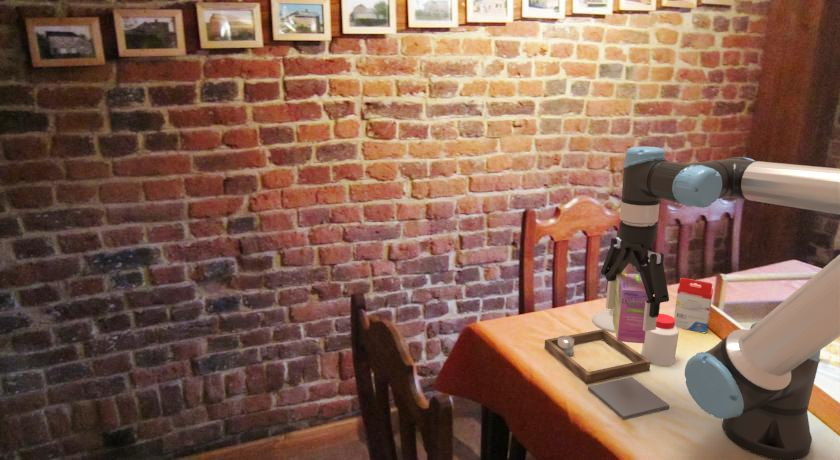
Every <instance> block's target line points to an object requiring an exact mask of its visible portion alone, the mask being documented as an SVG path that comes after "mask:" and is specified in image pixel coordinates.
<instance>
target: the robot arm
mask: <svg viewBox="0 0 840 460" xmlns="http://www.w3.org/2000/svg"><path fill="white" fill-rule="evenodd" d="M623 162H624V163H623V166H622V167H623V168H622V170H623V172H622V173H623V174H622V186H621V187H622V191H621V199H620V208H619V210H620V211H619V219H620V222H619V223H618V233H617V237H611V239H610V244H609V245H610V246H609V249H608V251H607V255H606V257H605V260H604V262H603V265H602V268H601V270H600V274H601V275H603V276H605V280H606V291H605V292H606V298H605V299H606V302H605V309H606V310H611V309H612V308H614V300H615V289H616V277H617V274H621V273H622V272H623V270H624V269H625V268H626V269H627V266H628V265H632V267H635V270H636V272H638V274H639V275H640V276H641V279H642V282H643V285H644V288H645V291H646V294H647V297H648V301H645V309H644V320H643V331H650V330H656V321H657V317H658V316H659V314H660V307H661V303H666V302H667V303H668V302H669V301H670V295H669V291H668V284H667V279H666V273H665V267H664V260H665V254H664V253H663V252H654V251H653V244H654V243H656V241H657V237H658V224H657V223H658V222H659V214H660V206H661V205H660V204H661V200H664V201H666V202H672V203H676V204H681V205H683V206H686V207H690V208H691V207H693V208H694V207H696V208H700V209H702V208H708V207H710V206H711V205H712V204H713V203H715V202H716V201H717V200H718V199H725V198H726V199H727V198H728V199H730V198H731V199H738V200H744V201H752V202H760V203H765V204H770V205H772V204H773V205H778V206H784V207H790V208H797V209H802V210H810V211H814V212H820V213H827V214H835V215H840V168H836V167H835V168H834V167H824V166H816V165H815V166H812V165H802V164H793V163H791V164H790V163H780V162H770V161H760V160H758V161H757V160H754V159H752V158H749V157H738V156H737V157H731V158H727V159H717V160H707V161H699V162H697V161H696V162H688V163H687V162H685V163H684V162H677V161H669V160H667V159H666V150H664V149H663V148H661V147H658V146H644V145H643V146H632V147H630V148H627V150H626V151H625V156H624V161H623ZM839 338H840V254H838V255H837V256H836V257H835V258H834V259H832V260H831V261H830V262H828V264H827V265H825V266H824V267H823V268H822V269H820V270H819V271H817V273H816V274H814V275H813V276H812V277H811V278H809V279H808V280H807V281H806V282H805V283H804V284H802V285H801V286H800V287H798V288H797V289H796V290H795V291H794V292H793V293H792V294H790V295H789V296H788V297H787V298H785V300H783V301H782V302H781V303H780V304H779V305H777V306H776V307H775V308H773V309H772V310H771V311H769V313H768V314H767V315H766V316H765V315H764V317H763V318H762V319H761V320H759V321H757V322H753V323H752V324H751V326H750V328H749V329H741V328H740V329H736V330H733V331H731V332H730V333H729V334H727V336H725V337H724V338H723V339H722V340H721V341H719V342H718V343H717V344H716V345H715V346H713V347H712V348H710V349H709V350H707V351H701V352H698V353H696V354H695V355H693V356H691V357H690V358H689V359H688V360H687V361H686V364H685V366H684V367H685V368H684V377H685V385H686V388H687V390H688V392H689V395H690V397H691V398H692V400H693V401H694V402H695V403H696V405H698V407H699V408H700V409H701V410H703V411H704V413H707V415H710V416H712V417H715V418H716V419H722V423H721V425H722V430H723V431H724V433H725V435H726V436H727V437H728V438H729V439H730V440H731V441H732V442H733V443H734V444H736V445H737V446H738V447H741V448H742V449H744V450H746V451H748V452H750V453H752V454H754V455H756V456H757V455H758V456H759V457H763V458H766V459H770V460H803V459H804V458H806V457H807V456H808V455H809V454H810V451H811V447H812V442H813V441H812V440H813V436H812V434H811V429H810V422H809V416H808V410H809V405H810V401H811V396H812V392H813V387H814V383H815V379H816V375H817V373H818V372H817V371H818V368H819V364H820V362H821V358H820V357H821V356H820V355H821V351H822V350H823V349H824V348H826V347H827V346H828V345H830V344H832V342H834V341H836V340H837V339H839Z"/></svg>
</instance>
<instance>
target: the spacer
mask: <svg viewBox="0 0 840 460" xmlns="http://www.w3.org/2000/svg"><path fill="white" fill-rule="evenodd" d="M557 338H558V344H557V347H558V348H560V349H561V350H562V351H563V352H565V353H566V354H567V355H568V356H569V357H571V358H572V356H574V348H575V347H574V346H575V345H574V339H573V338H572V337H570V336H569V335H560V336H558V337H557Z"/></svg>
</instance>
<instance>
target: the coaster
mask: <svg viewBox="0 0 840 460" xmlns="http://www.w3.org/2000/svg"><path fill="white" fill-rule="evenodd" d="M587 387H588V389H587V391H590V392H591V393H592V394H593V395H594V396H595V398H597V399H598V400H599V401H600V402H602V403H603V404H604V405H605V406H606V407H608V409H610V410H611V411H612V410H613V411H614V412H613V411H612V412H613V413H614V414H615V415H617V416H618V417H619V418H620V417H621V419H622V421H624V420H627V419H631V418H635V417H640V416H644V415H648V414H652V413H656V412H660V411H664V410H667V409H670V404H669V403H668V402H666V401H665V400H664V399H662V398H661V397H660V396H658V395H657V394H655V392H653V391H651V390H650V389H649V388H647V387H646V386H644V385H643V384H642V383H641V382H639V380H637V379H635V377H633V376H630V377H629V376H628V377H625V378H620V379H617V380H612V381H608V382H607V381H606V382H603V383H602V382H601V383H598V384H594V385H589V386H587Z"/></svg>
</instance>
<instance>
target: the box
mask: <svg viewBox="0 0 840 460" xmlns="http://www.w3.org/2000/svg"><path fill="white" fill-rule="evenodd" d="M645 301H648V297H647V294H646V291H645V288H644V285H643V282H642V279H641V276H640V274H634V273H633V274H632V273H631V274H630V273H626V274H617V277H616V289H615V300H614V311H613V325H614V329H615V333H614V334H615V337H616V338H617V341H622V342H623V343H633V344H634V343H635V344H643V343H644V341H645V333H646V331H643V320H644V309H645Z"/></svg>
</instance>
